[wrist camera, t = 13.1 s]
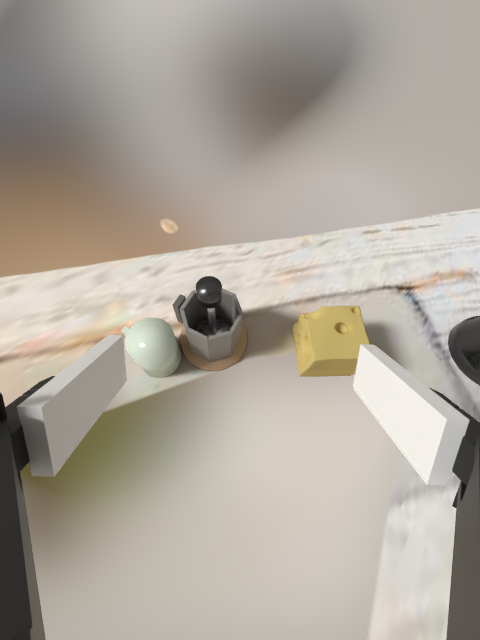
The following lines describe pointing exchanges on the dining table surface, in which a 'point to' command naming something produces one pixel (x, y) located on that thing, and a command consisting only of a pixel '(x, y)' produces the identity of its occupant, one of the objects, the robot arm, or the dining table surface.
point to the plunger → (210, 305)
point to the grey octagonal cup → (215, 348)
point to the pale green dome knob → (153, 347)
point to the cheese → (329, 341)
